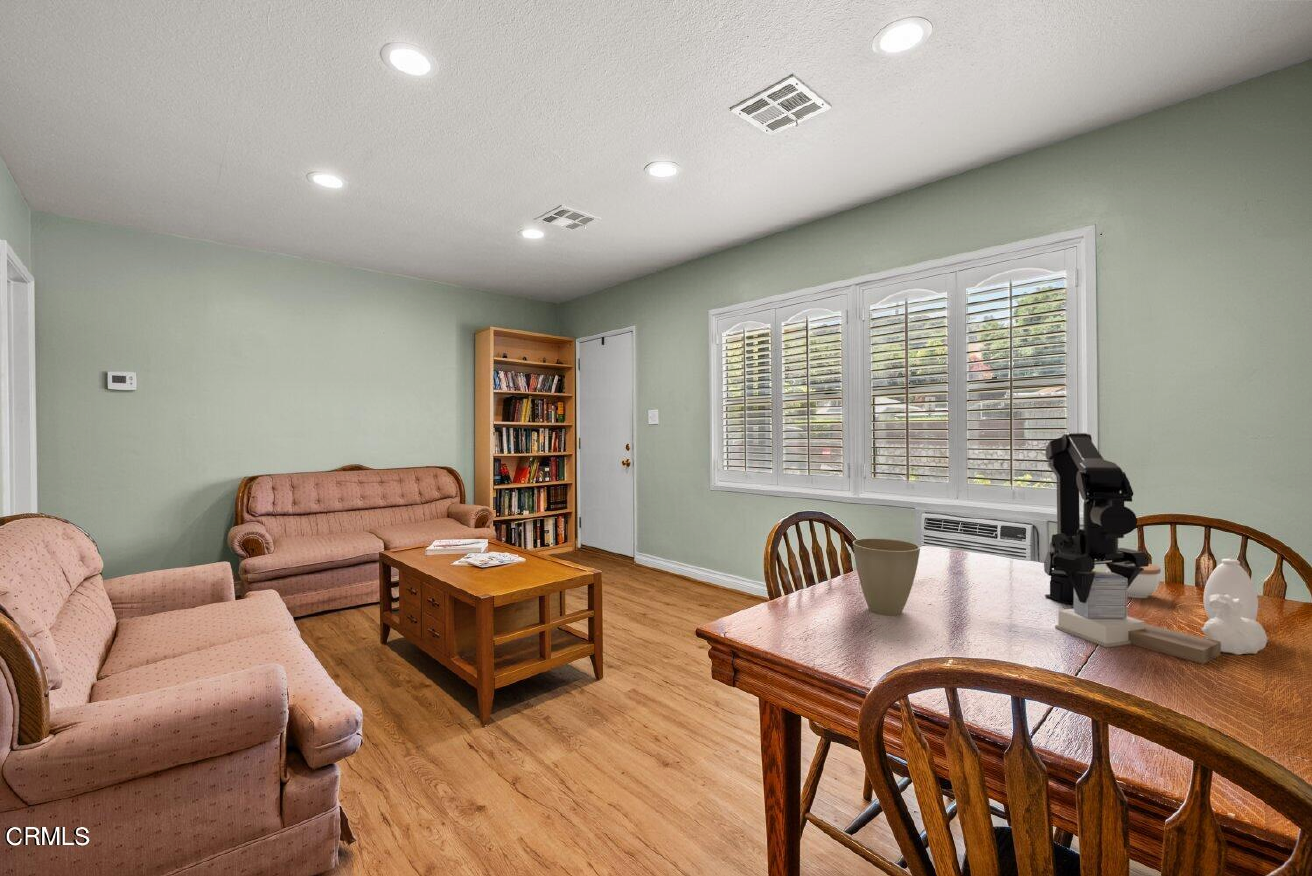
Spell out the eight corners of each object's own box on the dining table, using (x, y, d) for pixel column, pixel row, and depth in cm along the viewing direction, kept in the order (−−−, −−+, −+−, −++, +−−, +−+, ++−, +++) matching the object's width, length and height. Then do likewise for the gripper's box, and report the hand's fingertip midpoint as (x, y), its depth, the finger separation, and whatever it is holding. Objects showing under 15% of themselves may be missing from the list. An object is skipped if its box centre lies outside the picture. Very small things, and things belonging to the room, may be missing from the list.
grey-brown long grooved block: (1141, 634, 116) (1141, 622, 116) (1220, 655, 105) (1220, 642, 105) (1123, 642, 112) (1123, 629, 112) (1203, 664, 102) (1203, 650, 102)
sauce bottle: (1241, 641, 112) (1241, 552, 111) (1194, 628, 119) (1195, 544, 119) (1267, 637, 114) (1268, 549, 114) (1219, 624, 121) (1220, 542, 121)
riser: (1094, 623, 123) (1094, 605, 123) (1148, 641, 112) (1148, 622, 112) (1055, 628, 120) (1055, 609, 120) (1106, 647, 110) (1106, 627, 110)
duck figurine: (1256, 658, 109) (1218, 602, 116) (1295, 646, 103) (1252, 588, 110) (1202, 661, 108) (1166, 604, 115) (1238, 650, 102) (1198, 590, 109)
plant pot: (911, 626, 122) (911, 554, 122) (844, 613, 131) (844, 545, 131) (926, 608, 134) (926, 542, 134) (863, 597, 143) (863, 535, 143)
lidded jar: (1096, 592, 145) (1096, 556, 145) (1119, 586, 150) (1119, 552, 150) (1146, 603, 136) (1146, 565, 135) (1169, 597, 140) (1169, 560, 140)
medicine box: (1111, 612, 118) (1111, 571, 118) (1128, 619, 114) (1128, 577, 113) (1072, 611, 119) (1072, 571, 118) (1087, 619, 114) (1087, 577, 114)
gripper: (1096, 517, 126) (1096, 586, 126) (1029, 522, 121) (1029, 593, 122) (1151, 526, 115) (1150, 601, 115) (1079, 531, 110) (1079, 609, 111)
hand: (1100, 600), depth 116 cm, fingers open, 9 cm apart
